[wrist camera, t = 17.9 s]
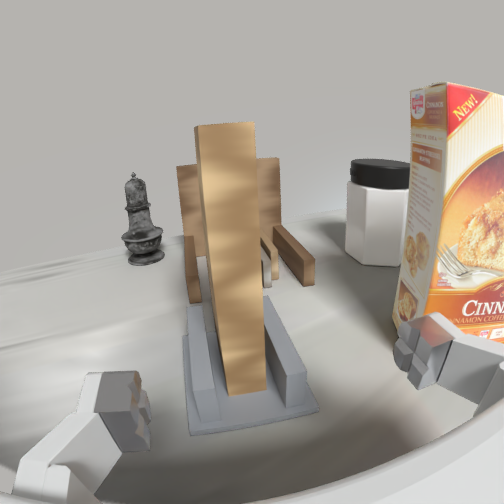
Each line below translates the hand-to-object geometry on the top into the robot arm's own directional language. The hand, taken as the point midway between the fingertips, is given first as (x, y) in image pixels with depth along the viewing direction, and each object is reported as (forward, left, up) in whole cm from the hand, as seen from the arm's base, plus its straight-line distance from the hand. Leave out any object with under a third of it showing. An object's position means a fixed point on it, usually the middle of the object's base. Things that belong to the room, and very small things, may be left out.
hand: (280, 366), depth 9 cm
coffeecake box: (+20, +7, -10) cm, 23 cm away
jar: (+21, +26, -10) cm, 35 cm away
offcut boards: (+5, +27, -10) cm, 29 cm away
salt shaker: (-9, +35, -10) cm, 38 cm away
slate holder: (0, +10, -10) cm, 14 cm away
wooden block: (0, +11, -9) cm, 14 cm away
